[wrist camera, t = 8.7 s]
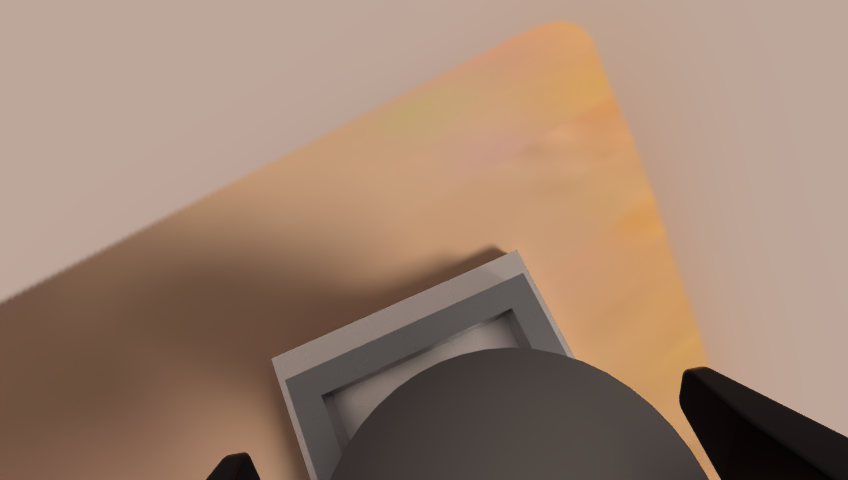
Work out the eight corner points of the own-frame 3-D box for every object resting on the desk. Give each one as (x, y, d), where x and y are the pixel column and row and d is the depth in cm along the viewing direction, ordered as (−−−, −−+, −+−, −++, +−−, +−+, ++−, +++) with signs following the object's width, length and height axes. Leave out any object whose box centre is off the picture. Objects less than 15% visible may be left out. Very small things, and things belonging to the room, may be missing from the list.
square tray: (664, 541, 17) (711, 572, 14) (388, 691, 15) (378, 759, 13) (512, 256, 20) (525, 234, 17) (279, 360, 19) (251, 354, 16)
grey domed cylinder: (537, 529, 16) (795, 865, 5) (390, 528, 16) (291, 858, 5) (526, 375, 18) (698, 347, 6) (393, 376, 18) (325, 348, 6)
